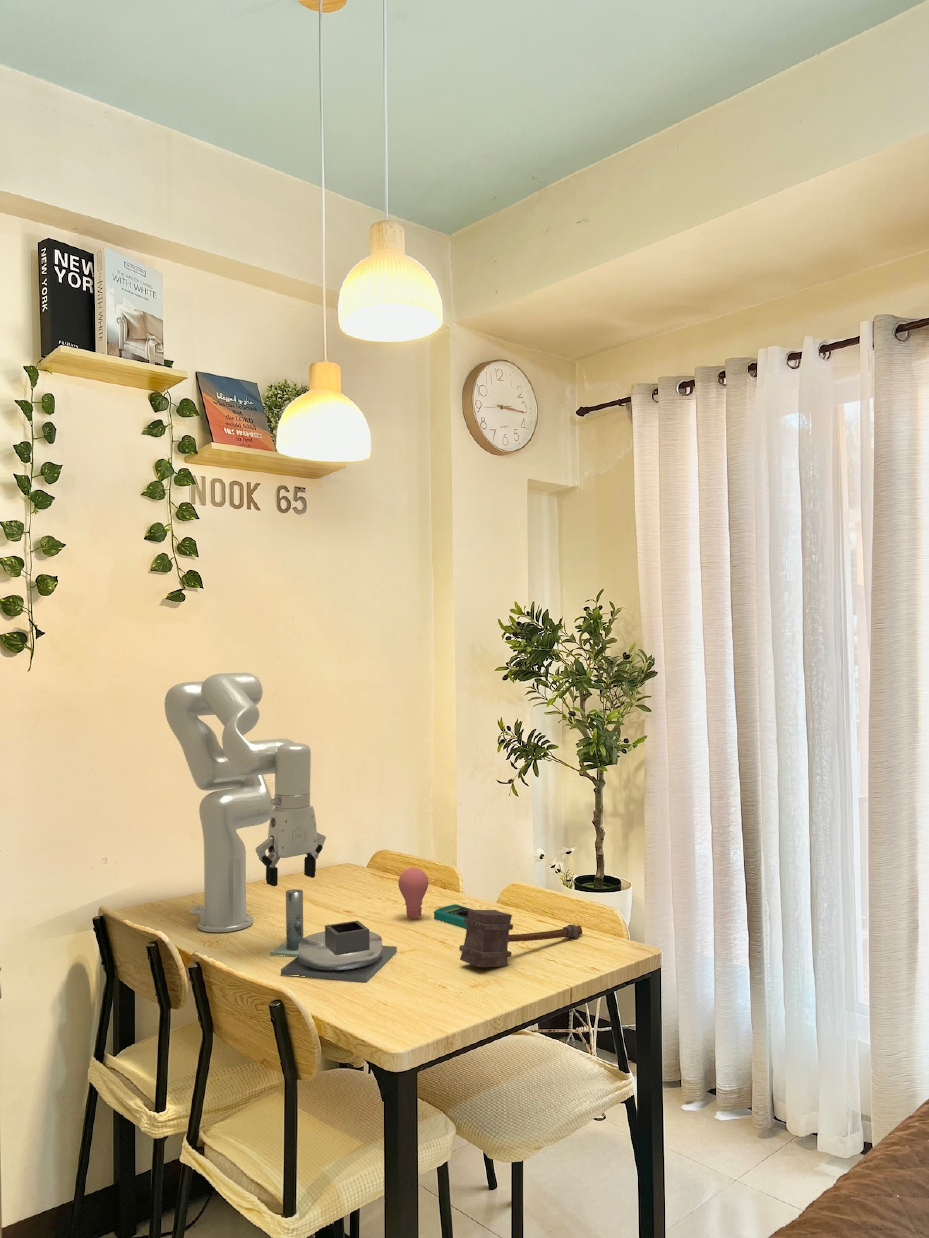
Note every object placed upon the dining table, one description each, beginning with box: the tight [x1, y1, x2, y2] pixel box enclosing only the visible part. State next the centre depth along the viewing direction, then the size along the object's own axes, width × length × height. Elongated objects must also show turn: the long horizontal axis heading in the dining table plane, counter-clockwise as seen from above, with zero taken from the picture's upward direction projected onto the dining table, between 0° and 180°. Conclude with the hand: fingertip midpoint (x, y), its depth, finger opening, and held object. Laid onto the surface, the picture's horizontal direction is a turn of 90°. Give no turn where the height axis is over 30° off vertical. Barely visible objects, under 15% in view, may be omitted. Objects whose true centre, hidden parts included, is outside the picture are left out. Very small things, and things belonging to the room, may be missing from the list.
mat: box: [269, 940, 299, 957], centre depth 196 cm, size 8×8×1 cm
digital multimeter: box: [433, 903, 474, 930], centre depth 215 cm, size 7×15×3 cm, turn 43°
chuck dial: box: [299, 920, 383, 970], centre depth 188 cm, size 17×17×7 cm
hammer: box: [458, 909, 583, 968], centre depth 193 cm, size 7×33×10 cm, turn 131°
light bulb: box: [398, 867, 429, 919], centre depth 219 cm, size 7×7×12 cm
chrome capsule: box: [285, 888, 304, 951], centre depth 196 cm, size 4×4×12 cm
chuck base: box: [280, 945, 398, 983], centre depth 188 cm, size 18×18×1 cm
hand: (291, 880), depth 198 cm, fingers open, 9 cm apart
